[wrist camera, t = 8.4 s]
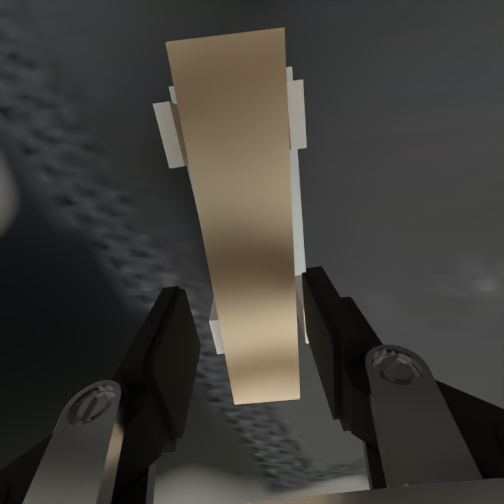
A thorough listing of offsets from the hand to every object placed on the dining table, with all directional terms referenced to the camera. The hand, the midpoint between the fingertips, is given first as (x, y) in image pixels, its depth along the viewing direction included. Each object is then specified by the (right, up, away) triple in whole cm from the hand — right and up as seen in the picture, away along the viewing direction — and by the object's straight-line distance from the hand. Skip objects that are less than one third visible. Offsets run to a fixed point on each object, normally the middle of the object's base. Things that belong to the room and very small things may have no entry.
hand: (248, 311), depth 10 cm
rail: (0, +4, +9) cm, 10 cm away
